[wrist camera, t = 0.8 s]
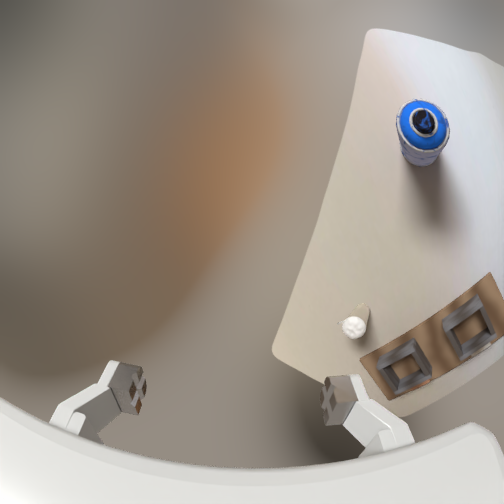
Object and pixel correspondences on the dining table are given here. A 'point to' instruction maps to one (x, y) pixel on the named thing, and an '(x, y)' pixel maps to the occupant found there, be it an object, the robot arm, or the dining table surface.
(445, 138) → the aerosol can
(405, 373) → the port board
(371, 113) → the dining table surface
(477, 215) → the dining table surface
